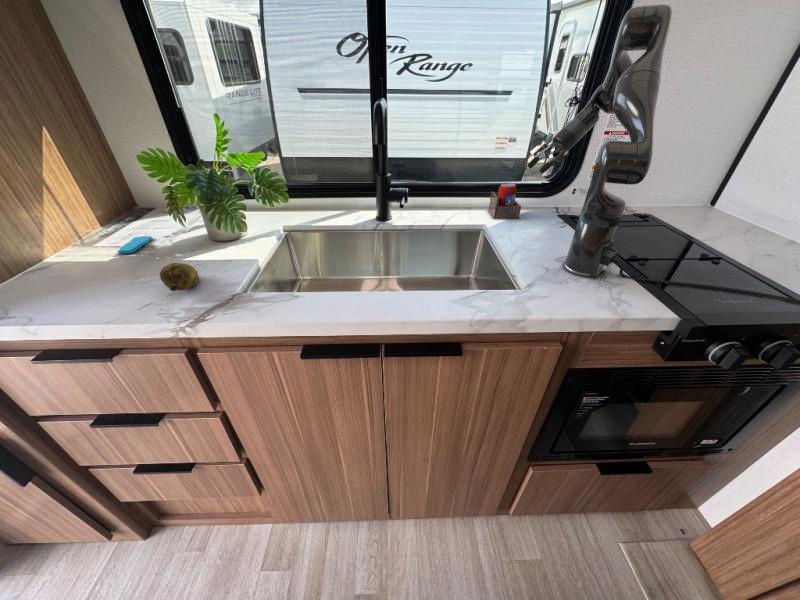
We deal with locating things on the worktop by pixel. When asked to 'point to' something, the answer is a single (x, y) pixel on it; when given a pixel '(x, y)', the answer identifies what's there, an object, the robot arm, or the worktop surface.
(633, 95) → the robot arm
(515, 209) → the box
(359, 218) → the worktop surface
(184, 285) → the potato
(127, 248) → the sponge
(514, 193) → the beverage can
